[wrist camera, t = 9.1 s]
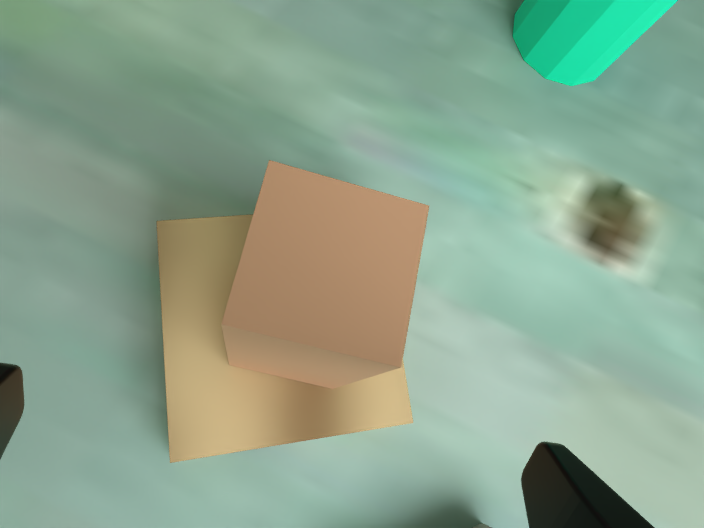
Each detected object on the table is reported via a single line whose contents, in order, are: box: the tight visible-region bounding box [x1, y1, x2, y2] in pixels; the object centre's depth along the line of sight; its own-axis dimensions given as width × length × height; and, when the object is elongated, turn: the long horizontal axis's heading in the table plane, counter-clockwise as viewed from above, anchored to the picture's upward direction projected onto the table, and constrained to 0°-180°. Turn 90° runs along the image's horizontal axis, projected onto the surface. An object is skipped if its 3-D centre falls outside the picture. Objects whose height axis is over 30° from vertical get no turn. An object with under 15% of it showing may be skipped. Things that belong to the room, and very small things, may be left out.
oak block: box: [157, 215, 413, 463], centre depth 22 cm, size 9×9×2 cm
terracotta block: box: [221, 160, 429, 389], centre depth 16 cm, size 4×4×9 cm
